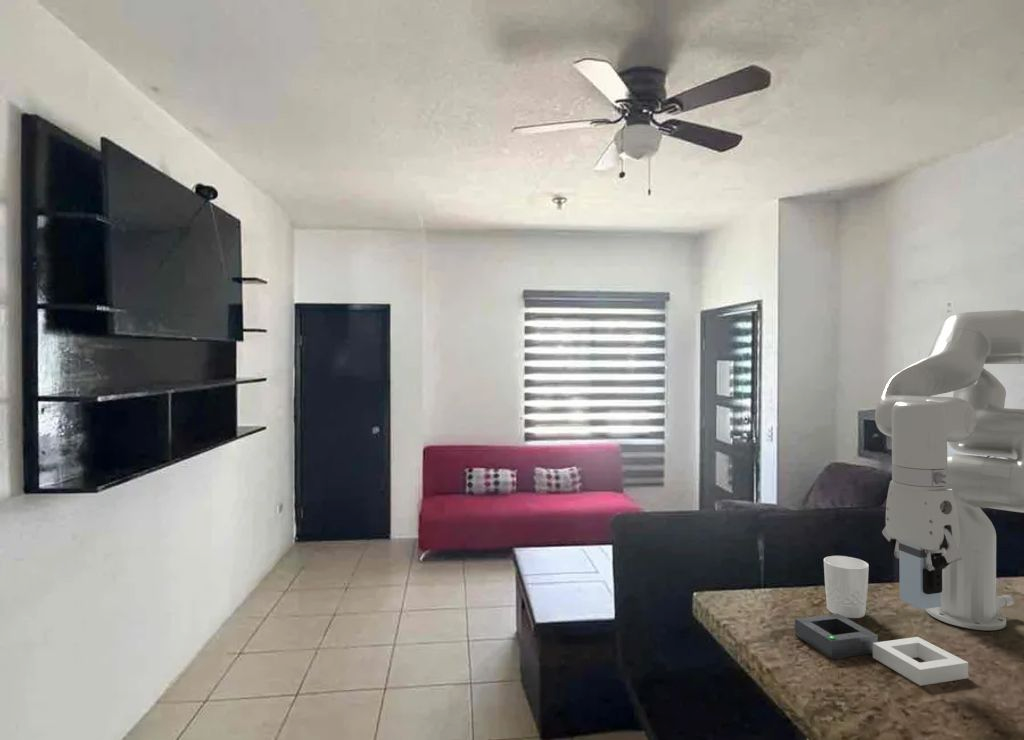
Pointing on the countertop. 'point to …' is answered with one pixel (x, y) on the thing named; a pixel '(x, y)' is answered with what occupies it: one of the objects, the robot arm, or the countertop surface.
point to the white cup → (846, 585)
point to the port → (835, 635)
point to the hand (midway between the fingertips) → (919, 586)
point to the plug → (914, 578)
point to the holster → (932, 671)
